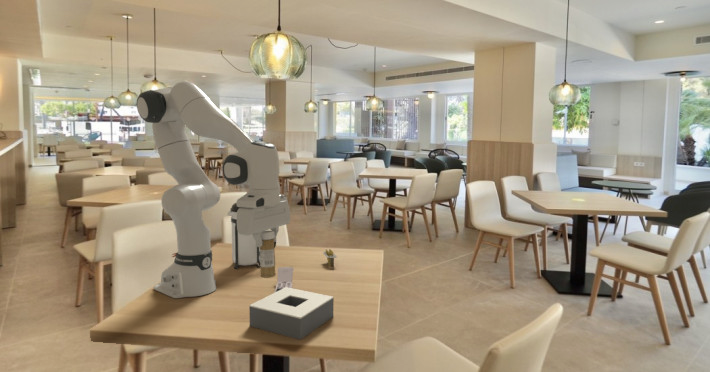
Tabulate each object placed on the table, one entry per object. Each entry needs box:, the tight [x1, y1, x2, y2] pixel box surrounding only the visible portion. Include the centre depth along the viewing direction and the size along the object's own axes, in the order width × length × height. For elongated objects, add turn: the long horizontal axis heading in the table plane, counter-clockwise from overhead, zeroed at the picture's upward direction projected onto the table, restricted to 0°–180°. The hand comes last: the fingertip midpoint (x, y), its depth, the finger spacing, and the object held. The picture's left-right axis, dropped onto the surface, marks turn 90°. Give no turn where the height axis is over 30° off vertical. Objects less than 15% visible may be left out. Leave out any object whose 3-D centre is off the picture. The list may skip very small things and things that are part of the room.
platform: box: [322, 248, 338, 267], centre depth 195 cm, size 12×18×7 cm, turn 19°
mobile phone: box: [273, 266, 294, 293], centre depth 160 cm, size 6×6×25 cm
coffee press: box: [226, 202, 277, 270], centre depth 191 cm, size 17×16×30 cm
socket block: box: [248, 287, 335, 340], centre depth 135 cm, size 18×18×6 cm
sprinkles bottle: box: [259, 230, 276, 279], centre depth 132 cm, size 5×5×14 cm
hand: (266, 244), depth 132 cm, fingers closed on sprinkles bottle, 4 cm apart
